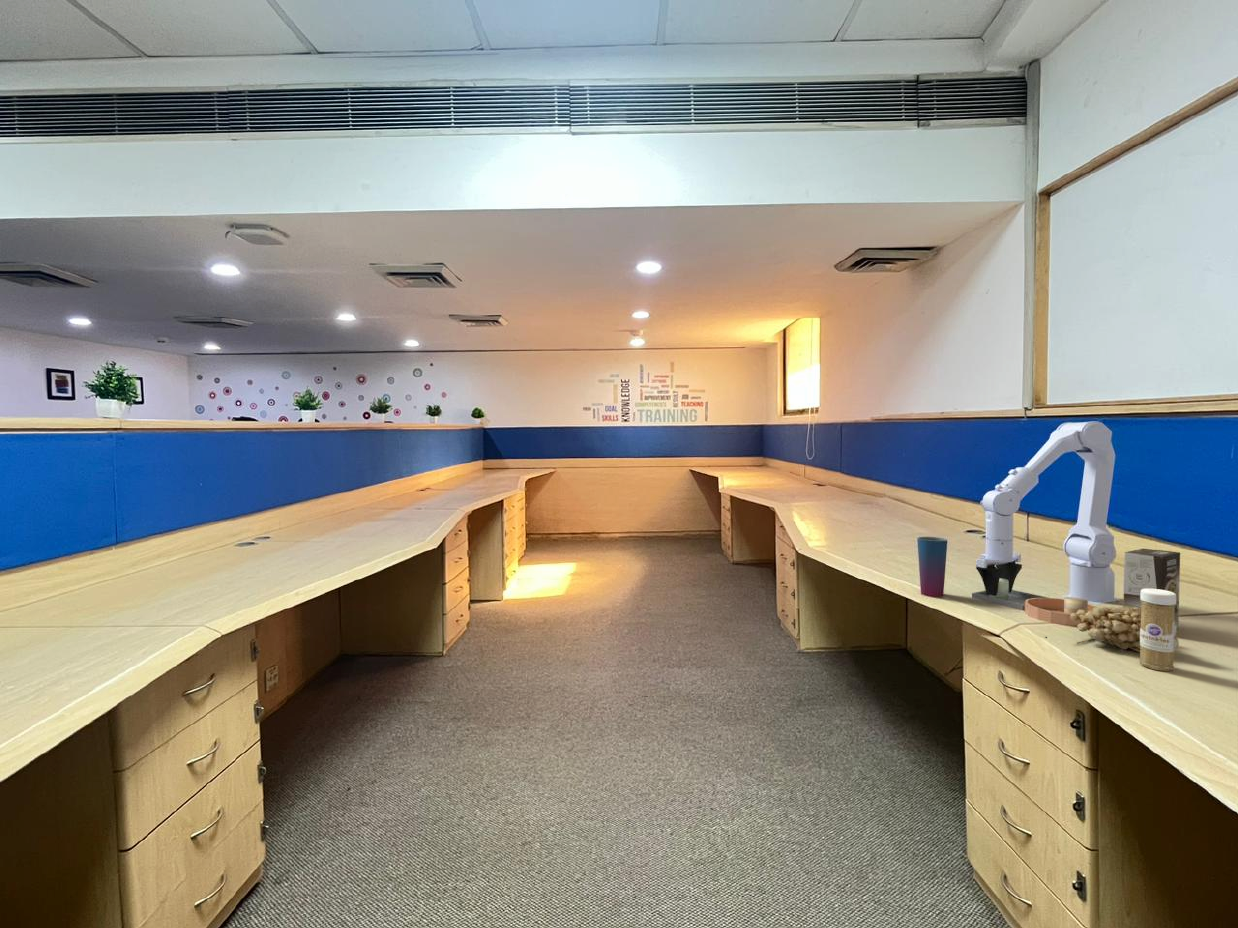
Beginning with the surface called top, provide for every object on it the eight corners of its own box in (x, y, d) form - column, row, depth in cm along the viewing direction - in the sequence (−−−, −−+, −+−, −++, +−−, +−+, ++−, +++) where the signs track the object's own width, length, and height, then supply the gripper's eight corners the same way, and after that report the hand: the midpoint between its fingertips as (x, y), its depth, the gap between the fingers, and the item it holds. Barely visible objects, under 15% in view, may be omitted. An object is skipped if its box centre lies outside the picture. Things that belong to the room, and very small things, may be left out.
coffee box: (1161, 635, 116) (1162, 556, 115) (1121, 626, 121) (1122, 551, 121) (1180, 628, 120) (1182, 551, 119) (1141, 619, 126) (1142, 547, 125)
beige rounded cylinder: (1070, 616, 127) (1070, 596, 127) (1091, 621, 123) (1091, 600, 123) (1060, 618, 125) (1060, 598, 125) (1080, 623, 122) (1081, 602, 122)
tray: (1000, 594, 148) (1000, 587, 148) (1052, 605, 137) (1052, 598, 137) (971, 600, 143) (971, 592, 143) (1022, 612, 132) (1023, 604, 132)
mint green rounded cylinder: (995, 594, 145) (995, 577, 145) (1012, 598, 142) (1012, 580, 142) (985, 596, 144) (985, 578, 144) (1002, 600, 140) (1002, 582, 140)
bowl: (1046, 607, 136) (1046, 595, 136) (1113, 623, 124) (1114, 609, 124) (1012, 615, 130) (1012, 602, 130) (1079, 632, 118) (1079, 618, 118)
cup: (951, 600, 143) (951, 541, 142) (921, 599, 144) (921, 540, 143) (941, 593, 149) (942, 536, 149) (913, 592, 151) (913, 536, 150)
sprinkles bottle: (1139, 667, 100) (1141, 591, 99) (1138, 659, 103) (1139, 586, 103) (1176, 674, 97) (1177, 595, 97) (1173, 665, 100) (1175, 590, 100)
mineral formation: (1186, 662, 102) (1083, 647, 107) (1147, 649, 114) (1057, 636, 120) (1186, 616, 103) (1084, 604, 108) (1148, 608, 115) (1058, 597, 120)
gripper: (1000, 534, 149) (1000, 586, 149) (964, 539, 143) (964, 593, 143) (1029, 538, 142) (1029, 592, 143) (993, 543, 136) (992, 599, 137)
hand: (998, 593), depth 143 cm, fingers open, 5 cm apart
